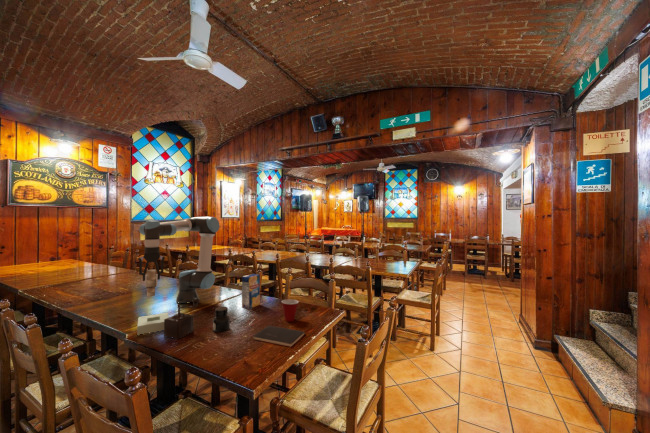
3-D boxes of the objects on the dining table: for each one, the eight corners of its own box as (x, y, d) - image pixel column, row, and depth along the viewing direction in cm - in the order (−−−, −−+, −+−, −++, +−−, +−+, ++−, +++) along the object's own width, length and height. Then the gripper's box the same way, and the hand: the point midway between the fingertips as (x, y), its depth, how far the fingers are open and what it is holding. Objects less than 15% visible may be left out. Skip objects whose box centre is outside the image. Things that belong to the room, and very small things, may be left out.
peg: (156, 293, 166) (156, 269, 166) (155, 296, 162) (156, 270, 162) (146, 295, 164) (146, 269, 164) (145, 297, 159) (146, 271, 159)
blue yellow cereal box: (241, 307, 195) (242, 276, 195) (252, 303, 205) (252, 273, 205) (249, 308, 192) (249, 277, 192) (259, 304, 202) (259, 274, 202)
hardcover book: (291, 348, 137) (291, 343, 137) (252, 340, 145) (252, 335, 145) (304, 335, 152) (304, 331, 152) (269, 328, 160) (269, 324, 160)
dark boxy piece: (179, 339, 144) (179, 305, 144) (163, 336, 147) (163, 303, 147) (201, 328, 159) (201, 297, 159) (186, 325, 162) (186, 295, 162)
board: (167, 320, 170) (167, 312, 170) (169, 329, 156) (169, 320, 156) (138, 325, 162) (138, 317, 162) (137, 335, 148) (137, 326, 148)
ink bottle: (217, 325, 162) (217, 305, 162) (232, 326, 162) (232, 306, 162) (209, 332, 153) (210, 311, 153) (225, 333, 152) (225, 311, 152)
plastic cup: (301, 318, 175) (302, 299, 175) (292, 324, 165) (292, 304, 165) (288, 315, 180) (288, 297, 180) (277, 321, 170) (277, 301, 170)
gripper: (169, 245, 171) (168, 282, 170) (134, 246, 162) (133, 286, 161) (169, 246, 164) (168, 285, 164) (133, 247, 155) (132, 288, 155)
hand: (151, 285), depth 163 cm, fingers closed on peg, 5 cm apart
